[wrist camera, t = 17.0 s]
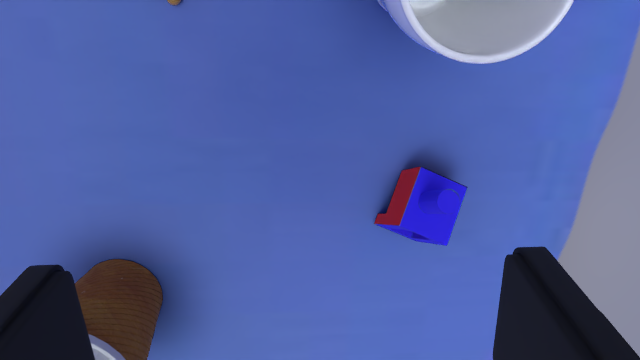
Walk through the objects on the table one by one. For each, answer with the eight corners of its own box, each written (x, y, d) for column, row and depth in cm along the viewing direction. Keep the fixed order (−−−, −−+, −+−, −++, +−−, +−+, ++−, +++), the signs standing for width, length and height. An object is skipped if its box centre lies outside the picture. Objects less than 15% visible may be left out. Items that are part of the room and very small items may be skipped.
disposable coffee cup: (172, 237, 38) (113, 343, 27) (191, 338, 41) (145, 469, 30) (48, 243, 38) (-63, 351, 27) (77, 343, 41) (-10, 477, 30)
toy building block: (434, 190, 38) (489, 184, 30) (415, 241, 38) (467, 249, 30) (393, 172, 38) (439, 162, 30) (373, 224, 37) (416, 227, 29)
